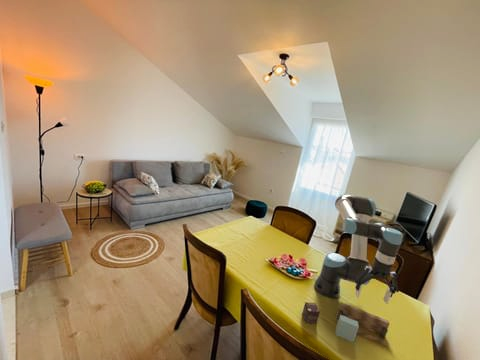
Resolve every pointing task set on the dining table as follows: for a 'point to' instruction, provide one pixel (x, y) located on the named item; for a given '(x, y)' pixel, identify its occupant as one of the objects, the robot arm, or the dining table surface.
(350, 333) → the pale grey block
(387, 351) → the dining table surface
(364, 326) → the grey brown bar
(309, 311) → the box
